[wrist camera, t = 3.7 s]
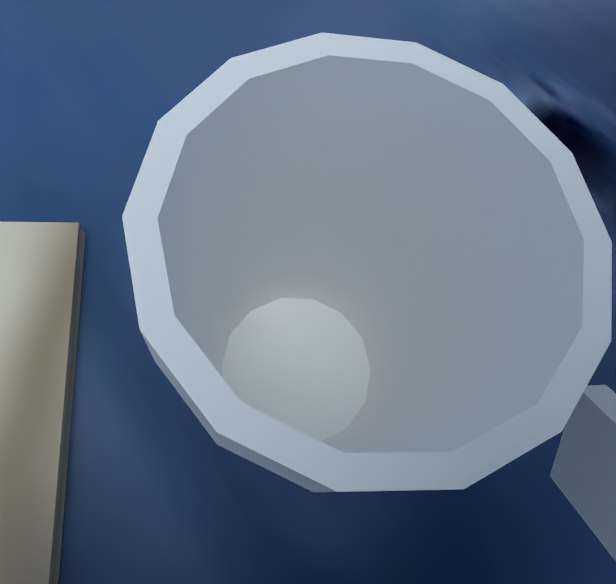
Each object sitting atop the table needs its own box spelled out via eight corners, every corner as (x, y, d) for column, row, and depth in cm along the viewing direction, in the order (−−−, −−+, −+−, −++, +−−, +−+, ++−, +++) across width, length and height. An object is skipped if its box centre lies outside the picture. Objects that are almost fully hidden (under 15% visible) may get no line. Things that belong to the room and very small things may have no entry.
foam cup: (214, 241, 24) (210, -17, 12) (419, 292, 25) (612, 98, 13) (146, 465, 21) (43, 425, 8) (386, 520, 21) (610, 553, 9)
